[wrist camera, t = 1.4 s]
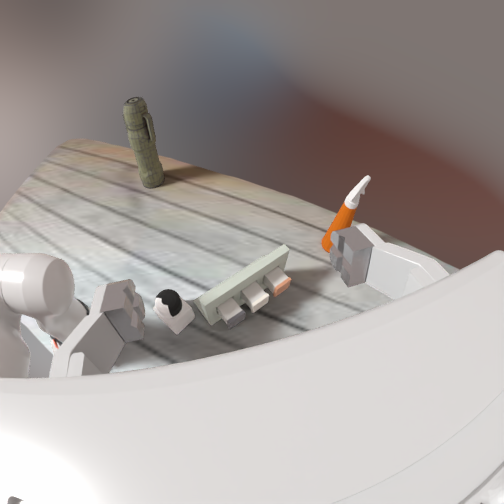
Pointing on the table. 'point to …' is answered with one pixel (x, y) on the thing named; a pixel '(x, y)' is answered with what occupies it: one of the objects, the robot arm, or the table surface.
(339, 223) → the spray bottle
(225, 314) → the button charcoal
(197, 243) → the table surface
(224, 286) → the panel
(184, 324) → the medicine bottle
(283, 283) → the button terracotta
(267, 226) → the table surface
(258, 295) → the button cream
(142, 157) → the green thermos flask
